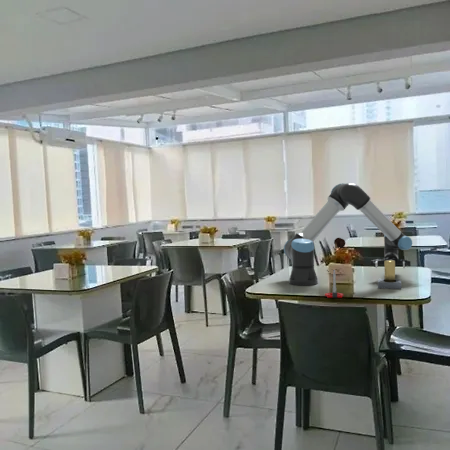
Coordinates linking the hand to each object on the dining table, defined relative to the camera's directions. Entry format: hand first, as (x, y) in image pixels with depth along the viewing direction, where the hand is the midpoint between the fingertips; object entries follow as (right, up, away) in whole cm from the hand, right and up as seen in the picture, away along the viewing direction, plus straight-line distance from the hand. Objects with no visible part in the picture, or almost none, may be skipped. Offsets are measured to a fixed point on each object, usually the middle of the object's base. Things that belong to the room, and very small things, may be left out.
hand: (389, 265), depth 250 cm
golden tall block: (-3, -10, -8) cm, 13 cm away
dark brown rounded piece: (-14, -7, +49) cm, 52 cm away
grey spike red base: (-35, -12, -26) cm, 45 cm away
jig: (-3, -10, -8) cm, 13 cm away
